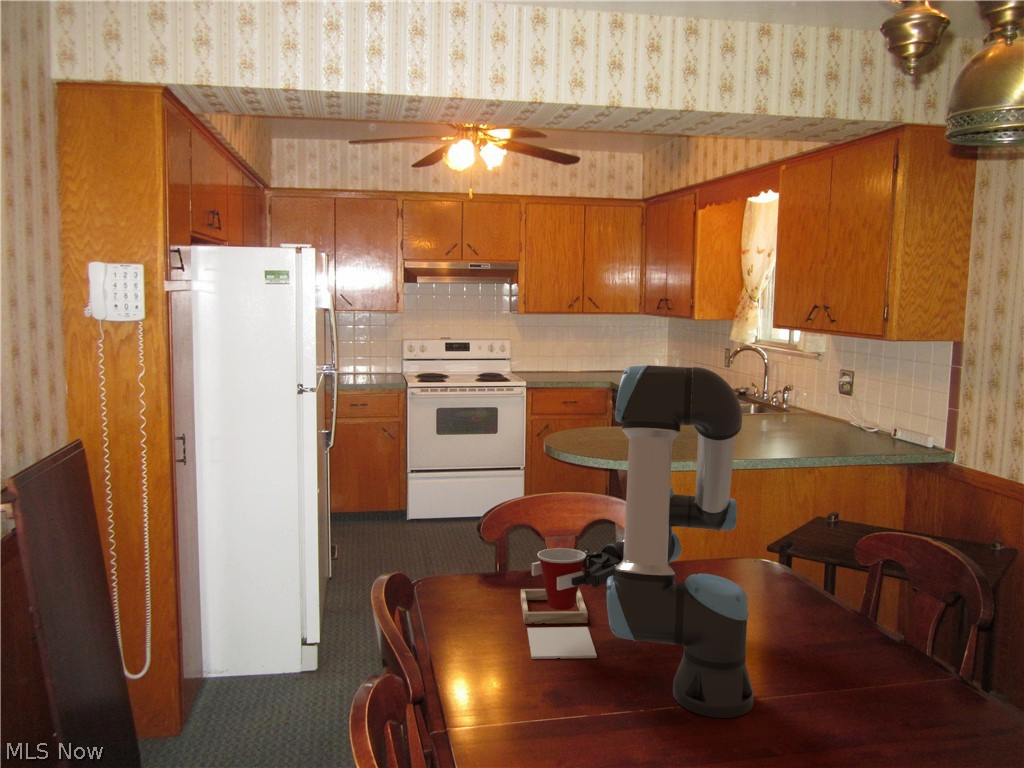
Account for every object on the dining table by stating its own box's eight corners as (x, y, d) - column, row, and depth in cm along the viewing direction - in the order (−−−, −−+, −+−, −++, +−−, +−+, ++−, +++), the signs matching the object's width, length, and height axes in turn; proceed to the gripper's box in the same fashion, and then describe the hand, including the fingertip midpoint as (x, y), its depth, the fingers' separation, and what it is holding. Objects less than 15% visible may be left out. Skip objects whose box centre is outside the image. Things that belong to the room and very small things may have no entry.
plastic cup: (586, 595, 178) (586, 545, 176) (585, 615, 167) (586, 561, 166) (538, 594, 179) (538, 543, 178) (535, 613, 168) (535, 560, 167)
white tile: (596, 657, 167) (596, 655, 167) (531, 658, 167) (531, 656, 167) (587, 629, 181) (587, 626, 181) (527, 630, 181) (527, 627, 181)
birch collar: (587, 622, 185) (587, 612, 184) (524, 623, 184) (524, 613, 184) (579, 597, 200) (579, 588, 199) (520, 598, 199) (520, 589, 199)
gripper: (655, 588, 173) (574, 610, 161) (594, 558, 191) (517, 577, 179) (656, 555, 172) (575, 575, 160) (595, 529, 190) (517, 545, 178)
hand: (544, 576), depth 170 cm, fingers closed on plastic cup, 9 cm apart
